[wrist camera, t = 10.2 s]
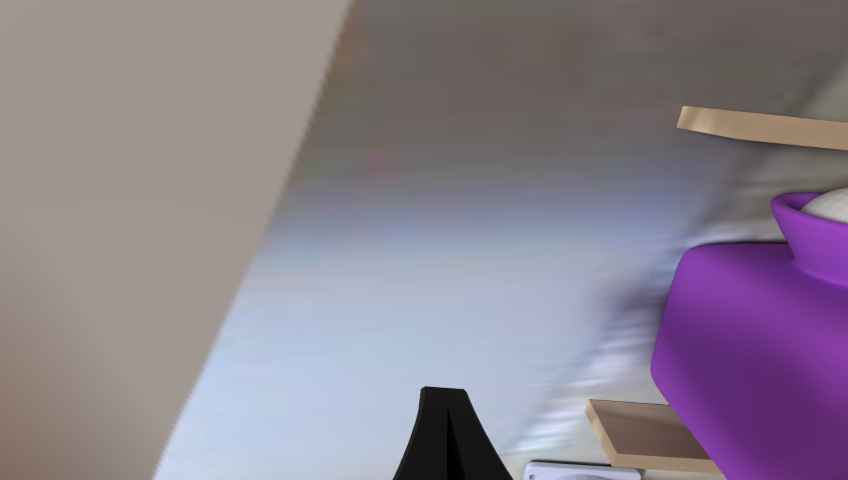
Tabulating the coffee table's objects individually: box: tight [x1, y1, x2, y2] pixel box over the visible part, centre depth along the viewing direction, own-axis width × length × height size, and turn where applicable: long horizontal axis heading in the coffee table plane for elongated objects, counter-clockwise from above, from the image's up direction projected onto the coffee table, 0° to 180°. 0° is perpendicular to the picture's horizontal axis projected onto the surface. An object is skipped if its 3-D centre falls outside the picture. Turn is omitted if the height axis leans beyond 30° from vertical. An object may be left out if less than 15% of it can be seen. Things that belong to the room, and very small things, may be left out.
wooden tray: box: [585, 106, 848, 474], centre depth 21 cm, size 19×13×4 cm
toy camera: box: [651, 187, 848, 480], centre depth 18 cm, size 11×14×10 cm
